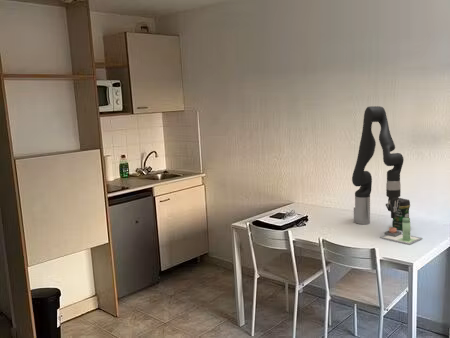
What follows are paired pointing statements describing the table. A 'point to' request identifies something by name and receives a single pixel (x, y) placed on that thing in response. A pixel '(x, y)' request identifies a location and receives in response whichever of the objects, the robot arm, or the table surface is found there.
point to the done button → (392, 230)
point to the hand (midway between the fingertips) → (393, 218)
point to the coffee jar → (401, 213)
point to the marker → (406, 229)
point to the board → (399, 238)
